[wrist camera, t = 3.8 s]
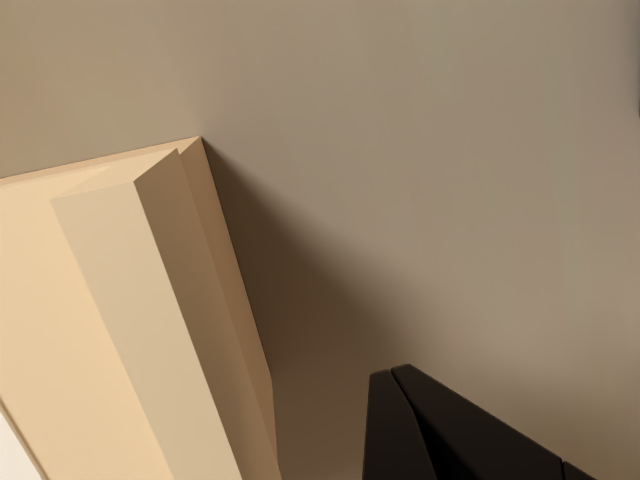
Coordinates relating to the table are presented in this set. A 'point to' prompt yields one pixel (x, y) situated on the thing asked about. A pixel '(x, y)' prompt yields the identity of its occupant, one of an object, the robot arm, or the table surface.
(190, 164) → the base
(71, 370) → the cream angled plate
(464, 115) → the table surface
